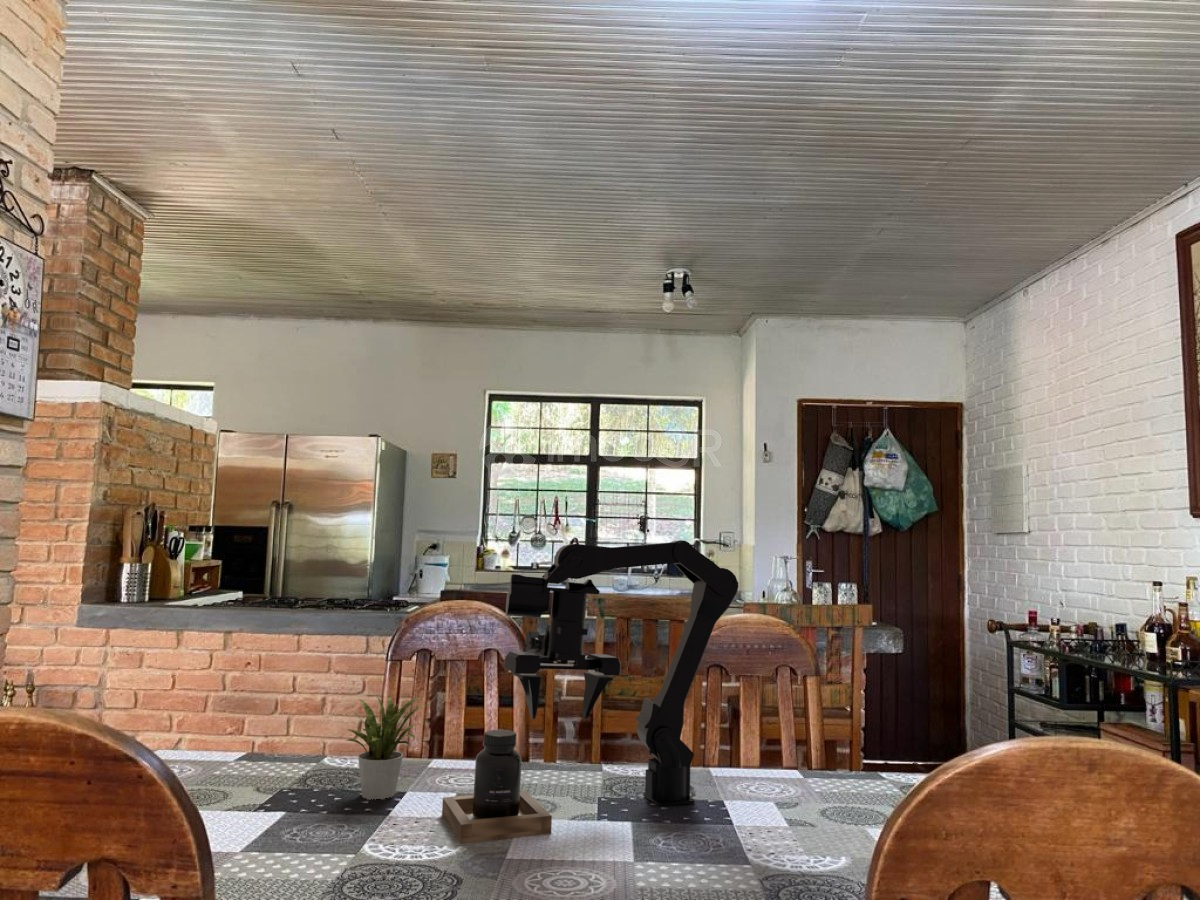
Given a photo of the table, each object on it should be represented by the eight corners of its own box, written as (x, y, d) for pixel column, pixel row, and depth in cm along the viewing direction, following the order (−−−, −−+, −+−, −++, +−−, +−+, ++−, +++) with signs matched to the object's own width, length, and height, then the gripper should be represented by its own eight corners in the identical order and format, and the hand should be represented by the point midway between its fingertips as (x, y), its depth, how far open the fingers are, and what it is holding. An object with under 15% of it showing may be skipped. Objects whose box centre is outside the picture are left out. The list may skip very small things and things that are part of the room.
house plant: (444, 786, 134) (449, 687, 137) (411, 811, 121) (417, 700, 123) (365, 780, 137) (372, 682, 139) (324, 803, 123) (332, 695, 126)
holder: (524, 806, 125) (525, 790, 125) (551, 833, 113) (551, 815, 113) (442, 814, 120) (442, 797, 120) (460, 843, 108) (461, 824, 108)
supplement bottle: (494, 828, 112) (497, 740, 113) (462, 817, 116) (466, 732, 118) (529, 817, 117) (532, 732, 118) (497, 807, 121) (501, 725, 123)
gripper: (596, 618, 142) (589, 708, 140) (497, 613, 134) (488, 708, 132) (626, 624, 132) (618, 721, 130) (521, 619, 124) (511, 722, 122)
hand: (559, 718), depth 128 cm, fingers open, 9 cm apart
